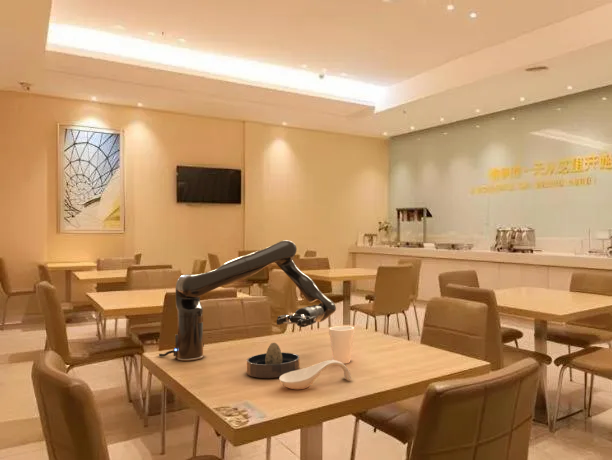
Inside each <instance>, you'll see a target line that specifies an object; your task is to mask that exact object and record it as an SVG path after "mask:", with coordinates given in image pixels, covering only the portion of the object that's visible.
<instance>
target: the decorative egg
mask: <svg viewBox="0 0 612 460" xmlns="http://www.w3.org/2000/svg"><path fill="white" fill-rule="evenodd" d="M281 352H282V350H281V348H280V345H279V344H278V343H276V342H271V343H270V344H269V345H268V348H267V350H266V357H265V363H266V365H269V364H282V353H281Z"/></svg>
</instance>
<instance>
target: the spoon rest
mask: <svg viewBox="0 0 612 460" xmlns="http://www.w3.org/2000/svg"><path fill="white" fill-rule="evenodd" d="M330 366H338V367H340V368H341V369H342V370H343V377H344V380H347V381H351V380H352V375H351V372H350V370H349V367H348V366H346V364H343V363H341V362H339V361H336V360H333V359H327V360H323V361H321V362H318V363H315V364H313V365H309V366H307V367H303V368H300V369H299V370H295V371H291V372H288V373H285V374H283V375H281V376H280V377H279V378H278V380H279V382H280V383H281V384H282V386H284V387H286V388H287V389H291V390H304V389H307V388H309V387H310V385H312V384H313V383H314V381H315V380H316V379H318V377H319V376H320V374H321V373H323V371H324V370H325V369H327V368H328V367H330Z"/></svg>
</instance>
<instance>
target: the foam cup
mask: <svg viewBox="0 0 612 460" xmlns="http://www.w3.org/2000/svg"><path fill="white" fill-rule="evenodd" d="M328 333H329V339H330V347H331V354H332V360H336V361H339V362H341V363H343V364H344V365H346V364H349V363H350V362H351V359H352V351H353V350H352V349H353V342H354V334H355V327H354V326H350V325H337V326H331V327H329V330H328Z"/></svg>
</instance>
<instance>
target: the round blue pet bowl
mask: <svg viewBox="0 0 612 460" xmlns="http://www.w3.org/2000/svg"><path fill="white" fill-rule="evenodd" d="M266 353H267V352H266ZM266 353H260V354H259V353H258V354H255V355H252V356H250V357H248V358H247V359H246V375H248V376H249V377H254V378H257V379H279V377H280V376H281V375H283V374H285V373H288V372H291V371H295V370H300V369H301V357H300V355H299V354H296V353H293V352H282V351H281V353H282V364H269V365H266V363H265V357H266Z"/></svg>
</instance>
